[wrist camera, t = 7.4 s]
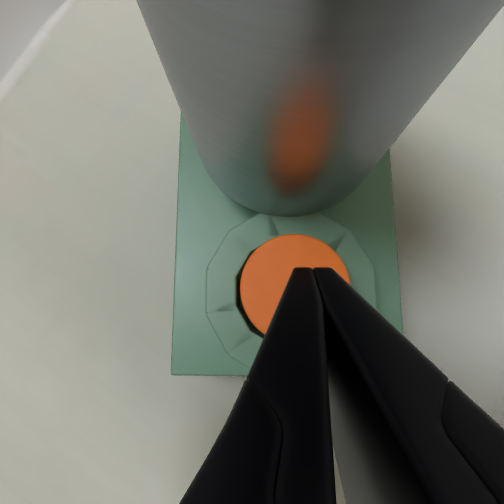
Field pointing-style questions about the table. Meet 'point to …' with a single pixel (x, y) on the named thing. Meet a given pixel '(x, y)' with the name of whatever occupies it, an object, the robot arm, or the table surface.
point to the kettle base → (246, 242)
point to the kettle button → (281, 272)
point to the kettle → (305, 86)
